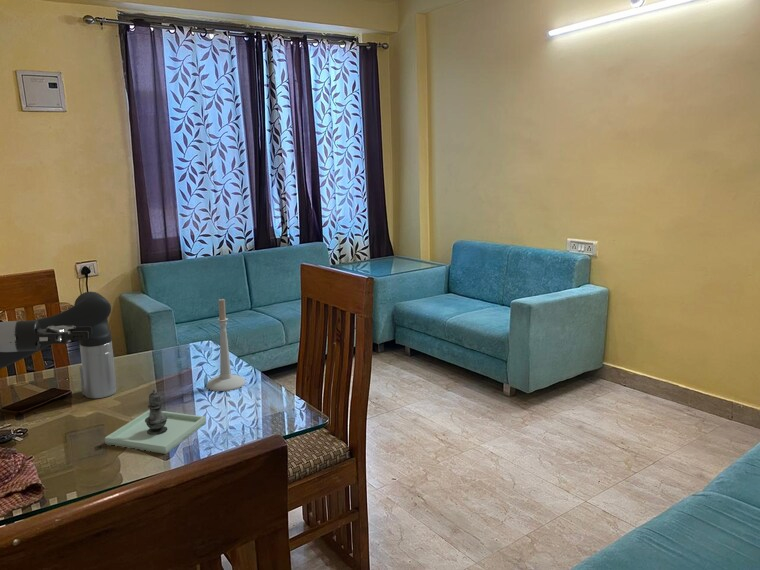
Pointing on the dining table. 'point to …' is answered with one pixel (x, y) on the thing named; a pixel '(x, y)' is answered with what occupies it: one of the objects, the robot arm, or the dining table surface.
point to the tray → (163, 443)
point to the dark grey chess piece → (156, 416)
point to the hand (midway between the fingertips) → (90, 332)
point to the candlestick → (224, 360)
